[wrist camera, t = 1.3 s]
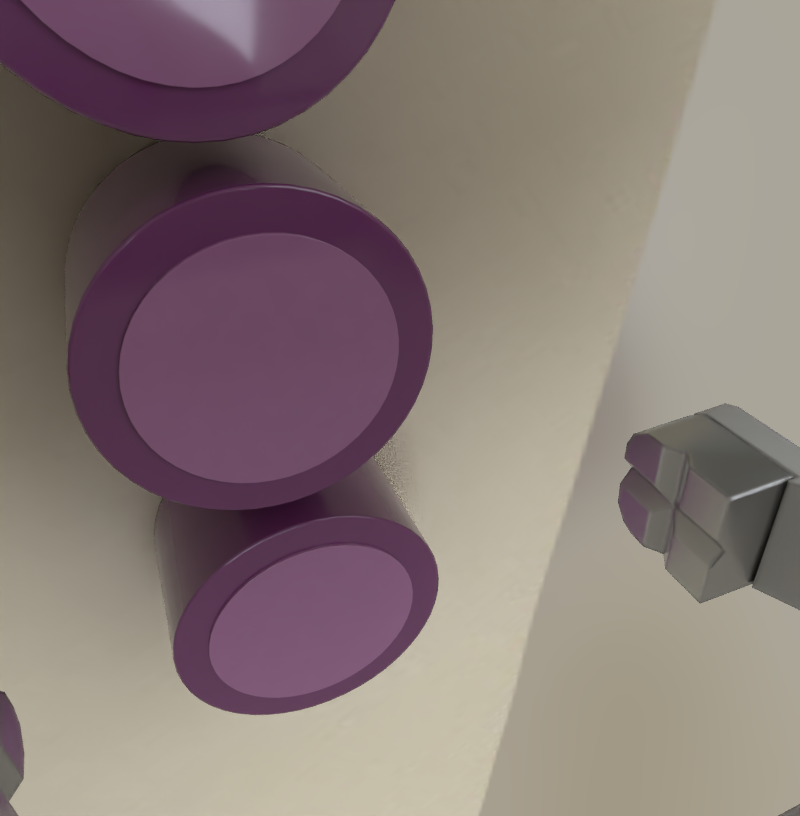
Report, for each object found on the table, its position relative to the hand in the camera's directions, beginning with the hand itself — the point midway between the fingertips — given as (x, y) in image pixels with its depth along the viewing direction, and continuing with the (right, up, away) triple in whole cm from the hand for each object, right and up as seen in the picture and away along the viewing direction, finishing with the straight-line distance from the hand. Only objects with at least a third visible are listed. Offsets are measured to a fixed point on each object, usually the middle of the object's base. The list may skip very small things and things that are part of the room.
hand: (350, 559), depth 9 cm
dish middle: (-3, +4, +6) cm, 8 cm away
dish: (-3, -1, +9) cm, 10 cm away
